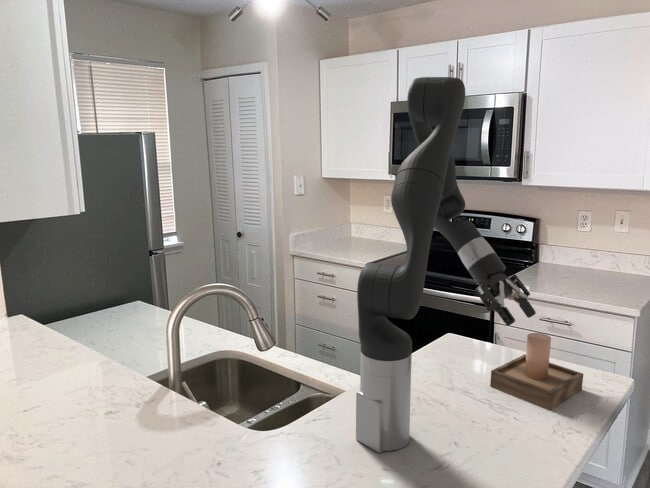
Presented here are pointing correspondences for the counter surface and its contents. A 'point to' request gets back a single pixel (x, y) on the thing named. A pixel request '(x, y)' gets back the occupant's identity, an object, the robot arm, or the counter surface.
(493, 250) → the robot arm
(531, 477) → the counter surface
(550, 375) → the square brown tray
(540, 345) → the tan cylinder
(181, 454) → the counter surface
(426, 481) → the counter surface
